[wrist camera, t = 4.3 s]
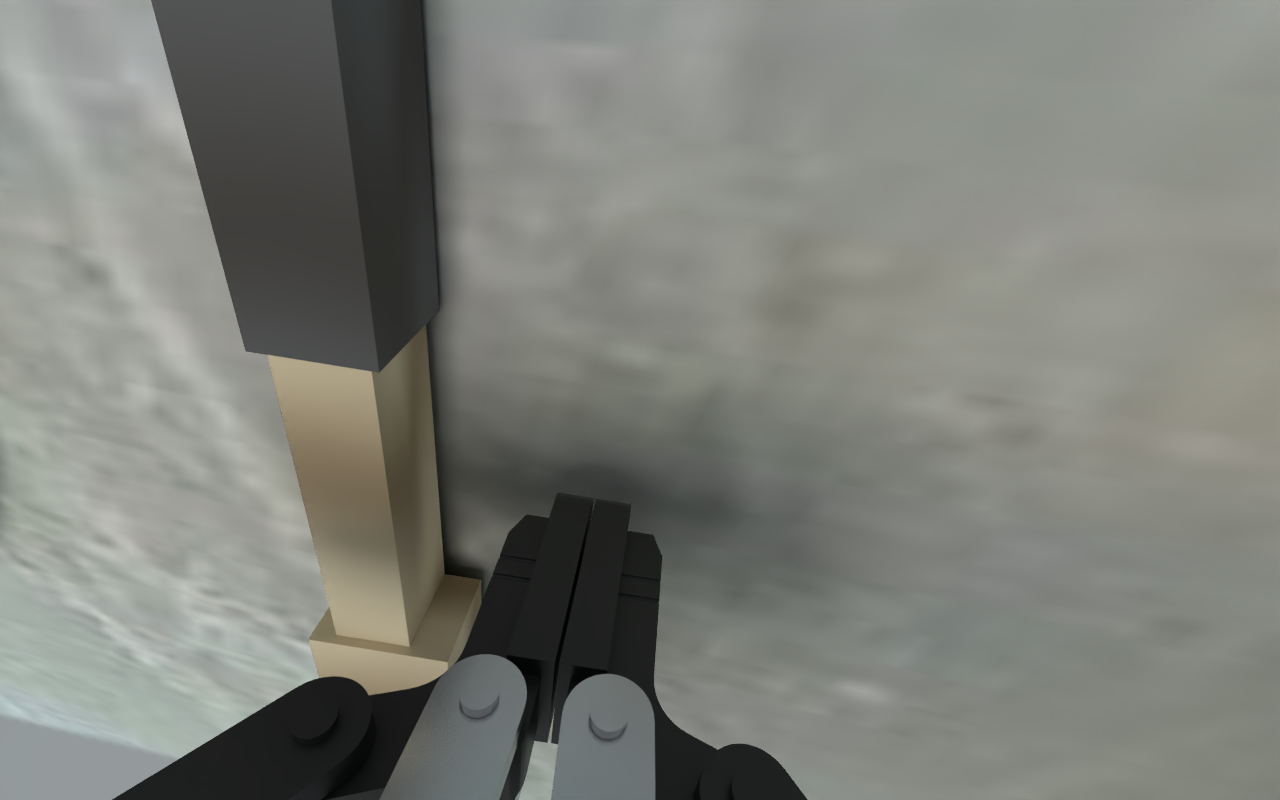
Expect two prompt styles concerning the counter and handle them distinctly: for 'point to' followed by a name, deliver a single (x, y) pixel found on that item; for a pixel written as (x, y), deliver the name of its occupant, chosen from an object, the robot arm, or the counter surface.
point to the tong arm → (335, 295)
